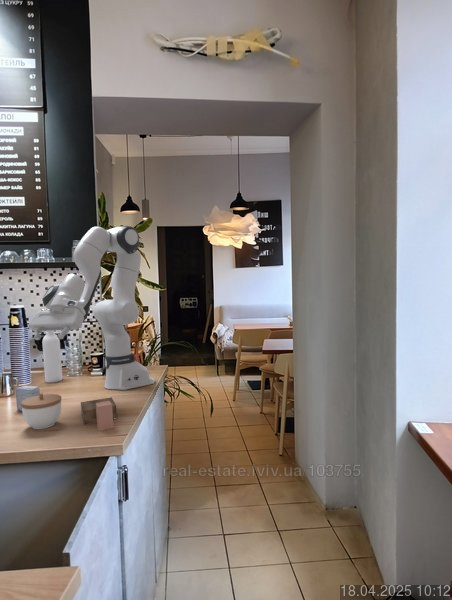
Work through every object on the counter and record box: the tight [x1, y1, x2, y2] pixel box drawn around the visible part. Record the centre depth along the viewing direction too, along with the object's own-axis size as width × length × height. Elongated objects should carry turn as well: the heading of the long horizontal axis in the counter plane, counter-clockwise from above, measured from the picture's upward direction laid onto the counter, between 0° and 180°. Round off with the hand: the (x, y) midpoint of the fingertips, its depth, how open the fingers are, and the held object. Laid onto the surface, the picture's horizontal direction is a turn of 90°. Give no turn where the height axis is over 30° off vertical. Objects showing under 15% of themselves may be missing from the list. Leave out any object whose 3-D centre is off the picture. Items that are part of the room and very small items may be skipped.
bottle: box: [41, 331, 63, 384], centre depth 205 cm, size 8×8×30 cm
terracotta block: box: [96, 401, 114, 432], centre depth 140 cm, size 4×4×8 cm
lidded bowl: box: [21, 392, 62, 430], centre depth 144 cm, size 13×13×11 cm
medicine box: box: [14, 385, 41, 412], centre depth 162 cm, size 8×4×9 cm, turn 71°
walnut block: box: [80, 397, 118, 425], centre depth 151 cm, size 11×11×5 cm
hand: (48, 338), depth 151 cm, fingers open, 8 cm apart
